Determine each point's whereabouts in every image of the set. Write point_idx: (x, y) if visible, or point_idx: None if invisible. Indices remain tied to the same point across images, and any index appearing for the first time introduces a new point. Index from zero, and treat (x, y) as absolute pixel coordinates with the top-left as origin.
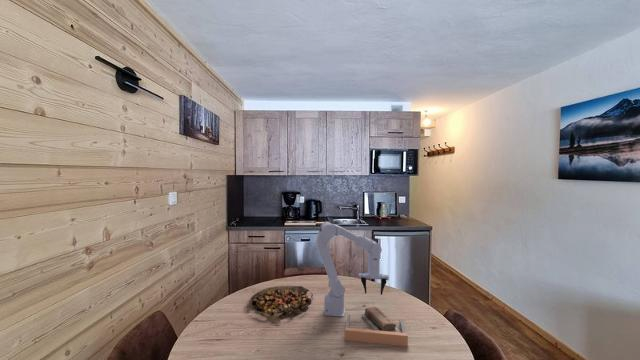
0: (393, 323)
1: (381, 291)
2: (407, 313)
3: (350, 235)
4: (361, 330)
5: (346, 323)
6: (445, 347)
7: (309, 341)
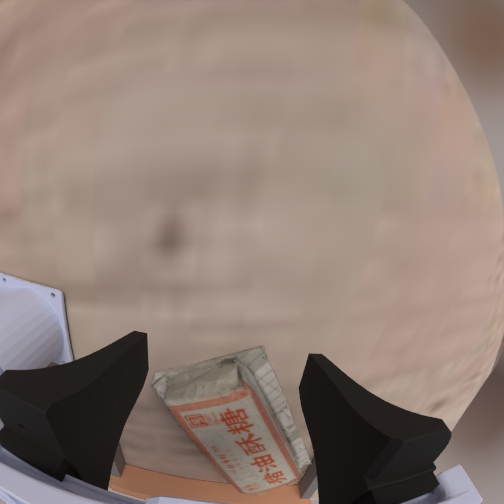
0: (289, 482)
1: (309, 418)
2: (417, 324)
3: None
4: None
5: None
6: None
7: None
